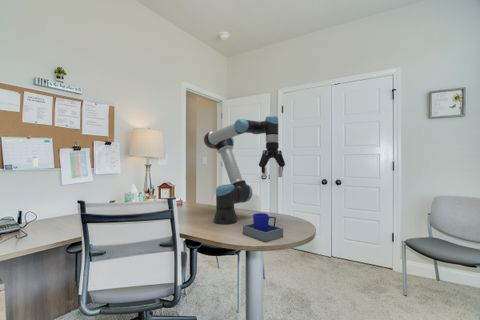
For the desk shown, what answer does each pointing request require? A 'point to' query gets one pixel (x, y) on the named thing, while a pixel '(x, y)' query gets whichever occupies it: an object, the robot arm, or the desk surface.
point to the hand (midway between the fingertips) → (272, 177)
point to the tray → (263, 233)
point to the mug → (262, 222)
